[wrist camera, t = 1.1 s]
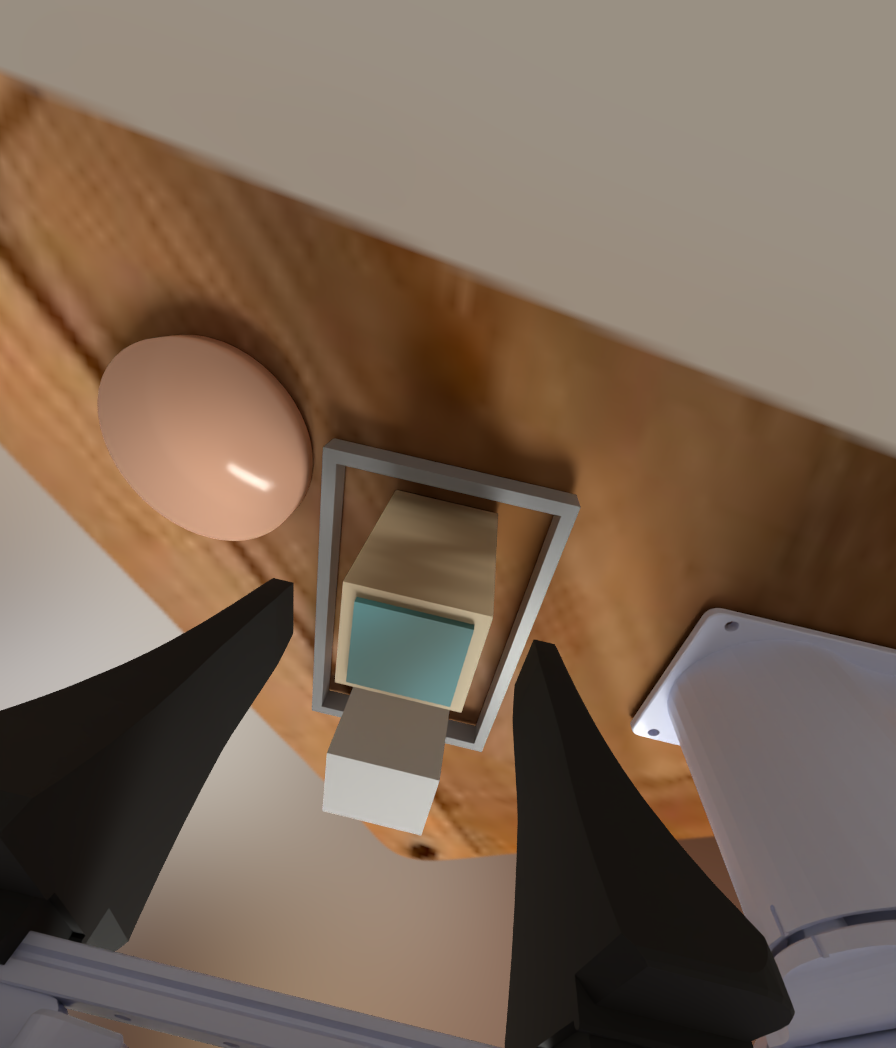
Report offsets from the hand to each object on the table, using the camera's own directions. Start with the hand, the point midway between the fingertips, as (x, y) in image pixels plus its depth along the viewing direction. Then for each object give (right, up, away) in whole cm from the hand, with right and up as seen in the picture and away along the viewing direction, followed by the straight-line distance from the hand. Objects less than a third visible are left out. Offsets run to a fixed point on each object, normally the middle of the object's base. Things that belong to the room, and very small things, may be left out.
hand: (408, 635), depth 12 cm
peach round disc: (-8, +6, +4) cm, 11 cm away
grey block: (-1, -4, +8) cm, 9 cm away
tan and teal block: (+1, +2, +5) cm, 5 cm away
